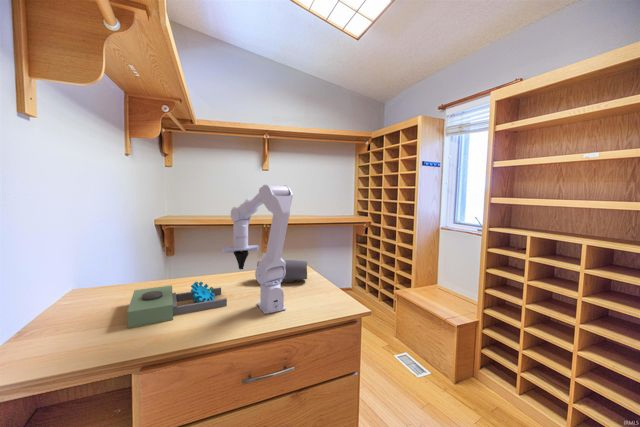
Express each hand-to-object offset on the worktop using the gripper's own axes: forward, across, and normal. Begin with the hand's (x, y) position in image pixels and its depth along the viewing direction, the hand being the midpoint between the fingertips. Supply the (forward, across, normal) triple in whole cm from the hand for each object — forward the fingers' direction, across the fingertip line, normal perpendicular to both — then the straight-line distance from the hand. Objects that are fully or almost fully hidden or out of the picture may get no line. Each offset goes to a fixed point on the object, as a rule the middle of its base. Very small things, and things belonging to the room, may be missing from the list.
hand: (241, 268), depth 113 cm
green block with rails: (+9, +23, +6) cm, 25 cm away
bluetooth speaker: (+10, -20, -4) cm, 23 cm away
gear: (+10, +15, +5) cm, 19 cm away
